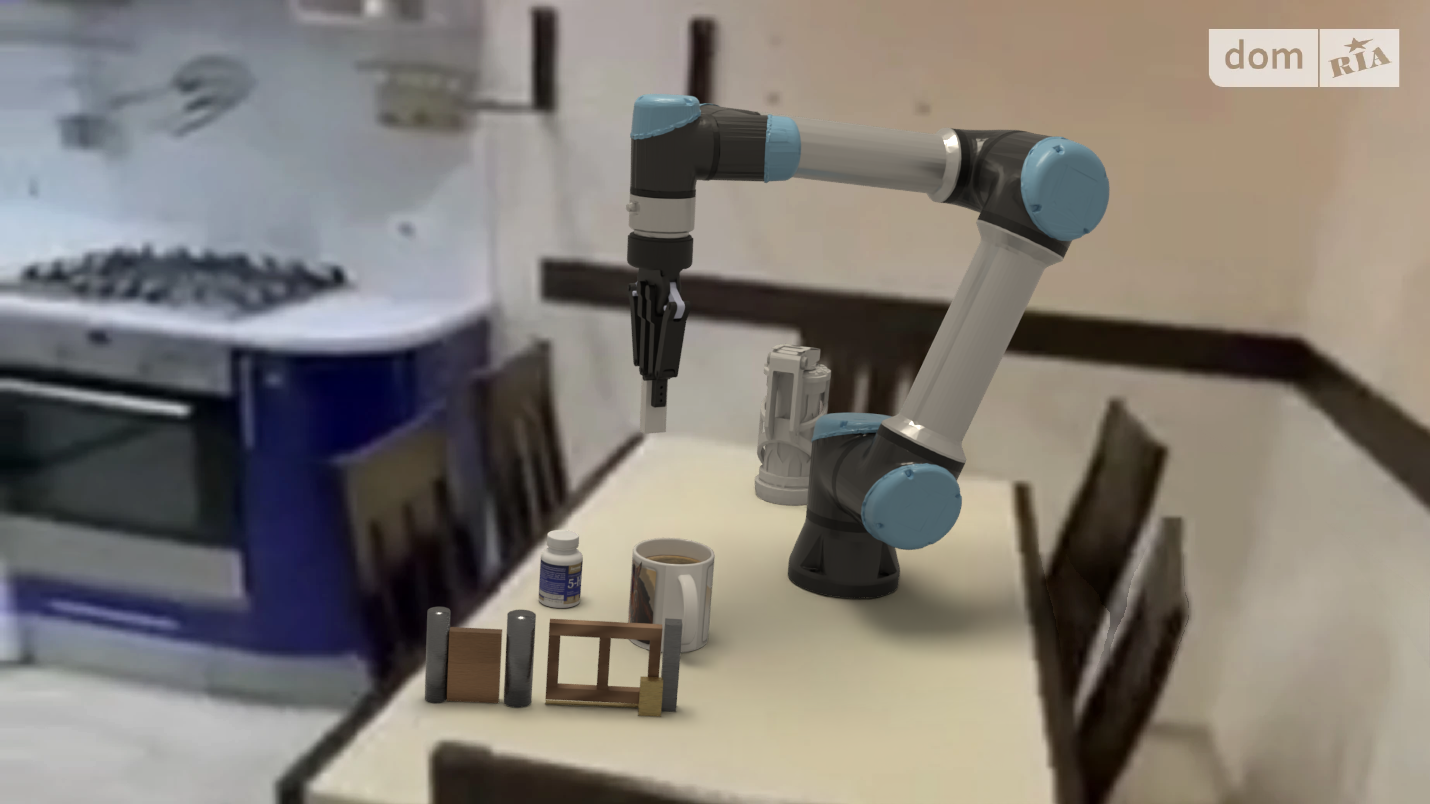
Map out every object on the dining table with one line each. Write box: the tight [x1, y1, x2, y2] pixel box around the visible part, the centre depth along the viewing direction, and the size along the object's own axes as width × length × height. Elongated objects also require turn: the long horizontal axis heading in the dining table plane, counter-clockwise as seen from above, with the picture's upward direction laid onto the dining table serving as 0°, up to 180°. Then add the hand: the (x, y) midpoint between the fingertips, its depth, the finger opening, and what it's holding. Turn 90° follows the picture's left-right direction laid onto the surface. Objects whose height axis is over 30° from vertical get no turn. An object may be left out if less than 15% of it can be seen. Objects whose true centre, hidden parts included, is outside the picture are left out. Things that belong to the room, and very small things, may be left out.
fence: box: [424, 606, 639, 709], centre depth 170 cm, size 25×3×10 cm, turn 94°
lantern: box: [754, 343, 832, 506], centre depth 247 cm, size 13×10×25 cm
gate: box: [545, 618, 662, 704], centre depth 170 cm, size 12×1×9 cm, turn 93°
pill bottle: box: [538, 529, 584, 609], centre depth 199 cm, size 5×5×9 cm
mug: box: [627, 537, 716, 653], centre depth 189 cm, size 10×12×11 cm
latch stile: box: [637, 618, 683, 718], centre depth 170 cm, size 4×3×10 cm
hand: (652, 431), depth 187 cm, fingers closed
